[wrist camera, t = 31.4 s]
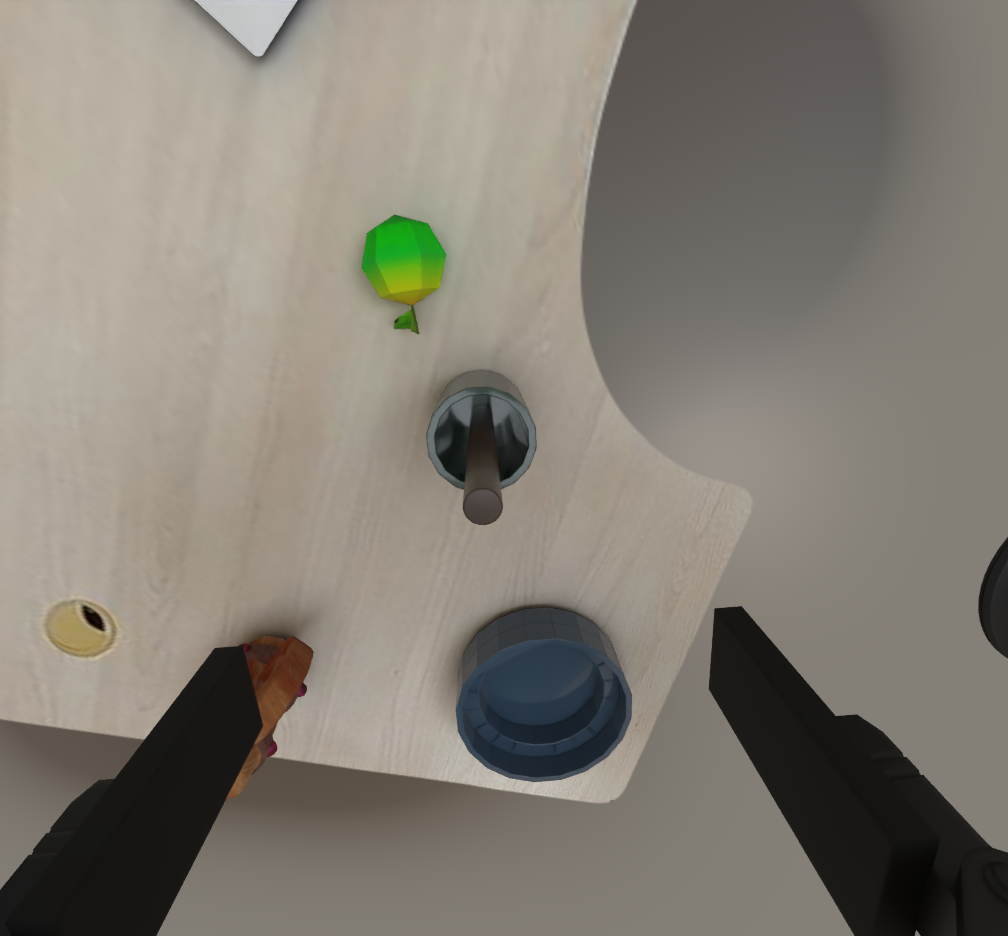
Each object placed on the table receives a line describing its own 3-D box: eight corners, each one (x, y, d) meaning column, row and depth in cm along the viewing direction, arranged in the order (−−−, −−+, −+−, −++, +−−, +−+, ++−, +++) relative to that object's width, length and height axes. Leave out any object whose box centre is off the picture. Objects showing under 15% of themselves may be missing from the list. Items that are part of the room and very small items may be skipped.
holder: (522, 366, 46) (533, 383, 37) (527, 452, 49) (538, 488, 39) (433, 372, 46) (421, 391, 37) (442, 458, 49) (433, 496, 39)
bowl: (616, 597, 54) (633, 632, 48) (616, 728, 59) (630, 774, 54) (451, 610, 54) (448, 647, 48) (466, 741, 59) (464, 788, 53)
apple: (379, 203, 35) (409, 337, 38) (451, 202, 39) (474, 324, 42) (333, 228, 41) (363, 344, 43) (401, 225, 44) (424, 332, 47)
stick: (491, 403, 47) (501, 486, 26) (493, 425, 47) (504, 524, 26) (469, 405, 47) (460, 489, 26) (471, 426, 47) (464, 527, 26)
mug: (276, 708, 57) (207, 846, 42) (212, 666, 55) (117, 796, 40) (363, 623, 54) (321, 739, 39) (299, 575, 52) (230, 679, 38)
